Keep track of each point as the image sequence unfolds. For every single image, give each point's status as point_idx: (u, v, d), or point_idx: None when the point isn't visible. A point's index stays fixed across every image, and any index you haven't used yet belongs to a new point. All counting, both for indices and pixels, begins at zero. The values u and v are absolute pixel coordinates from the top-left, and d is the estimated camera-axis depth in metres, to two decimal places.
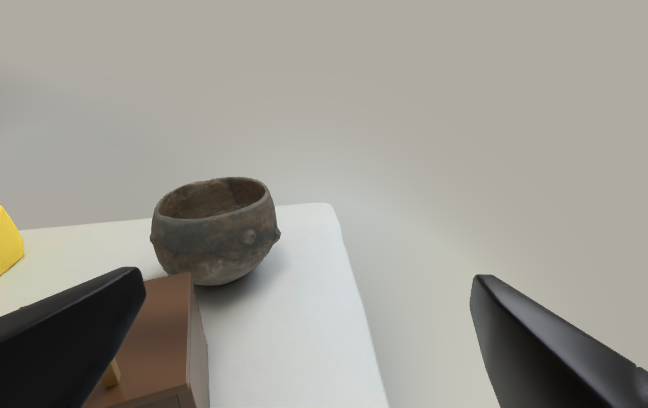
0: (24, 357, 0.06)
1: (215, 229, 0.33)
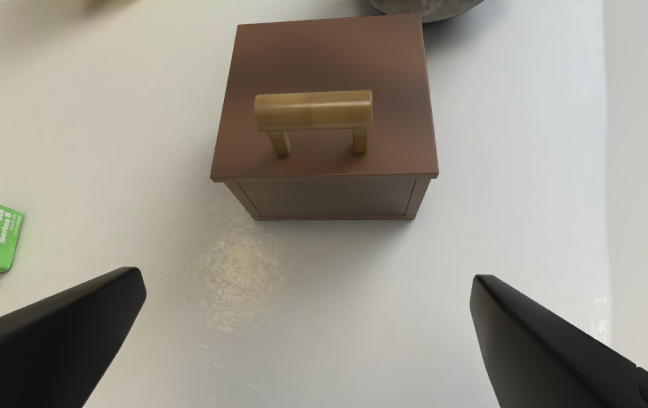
0: (24, 357, 0.06)
1: None
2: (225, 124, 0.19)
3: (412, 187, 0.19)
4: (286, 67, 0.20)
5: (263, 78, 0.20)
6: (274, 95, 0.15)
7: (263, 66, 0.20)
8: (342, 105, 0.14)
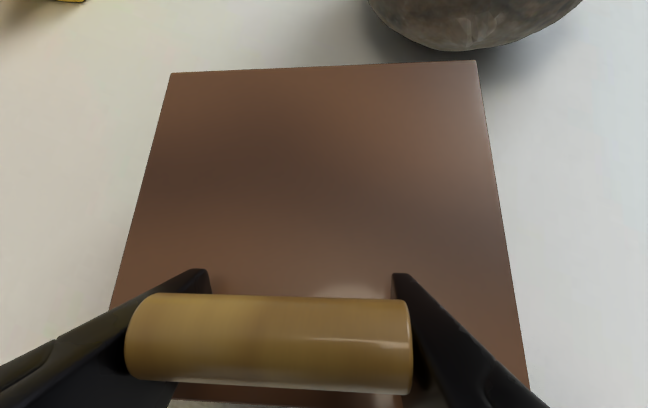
0: (121, 362, 0.06)
1: None
2: (128, 272, 0.10)
3: None
4: (244, 157, 0.12)
5: (202, 179, 0.11)
6: (175, 315, 0.06)
7: (206, 153, 0.12)
8: (336, 365, 0.06)
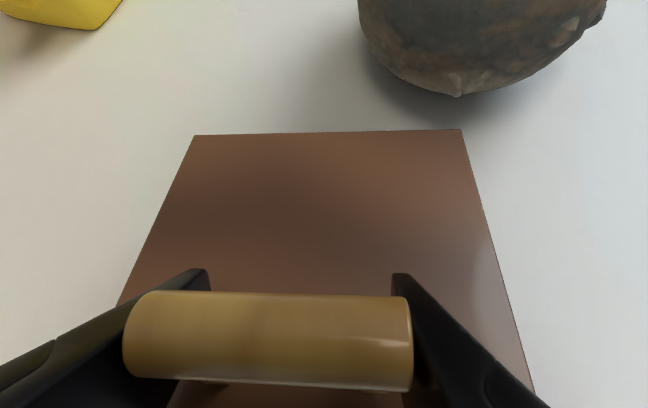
0: (121, 362, 0.06)
1: (509, 11, 0.15)
2: None
3: None
4: (253, 202, 0.13)
5: (212, 219, 0.12)
6: (179, 301, 0.06)
7: (218, 198, 0.13)
8: (336, 347, 0.06)
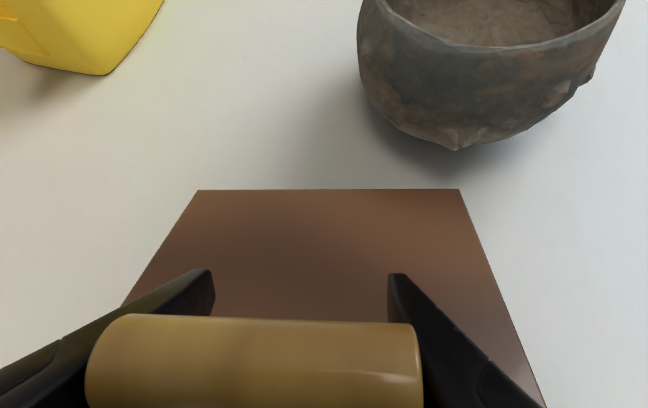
0: None
1: (503, 76, 0.16)
2: None
3: None
4: (250, 251, 0.12)
5: (206, 267, 0.12)
6: (160, 321, 0.06)
7: (214, 247, 0.12)
8: (334, 372, 0.05)
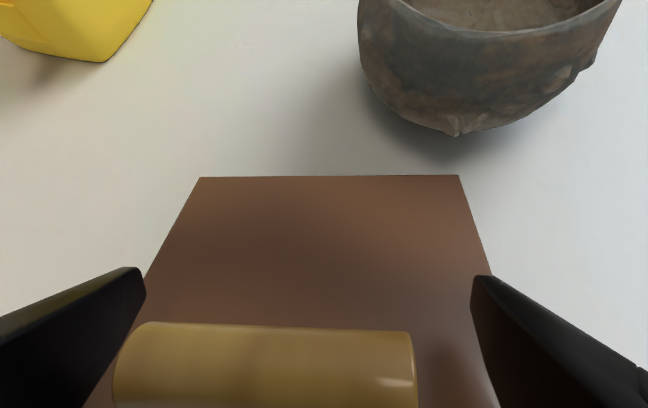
0: (24, 357, 0.06)
1: (503, 61, 0.16)
2: None
3: None
4: (254, 241, 0.13)
5: (212, 257, 0.12)
6: (176, 331, 0.06)
7: (219, 237, 0.13)
8: (337, 382, 0.05)
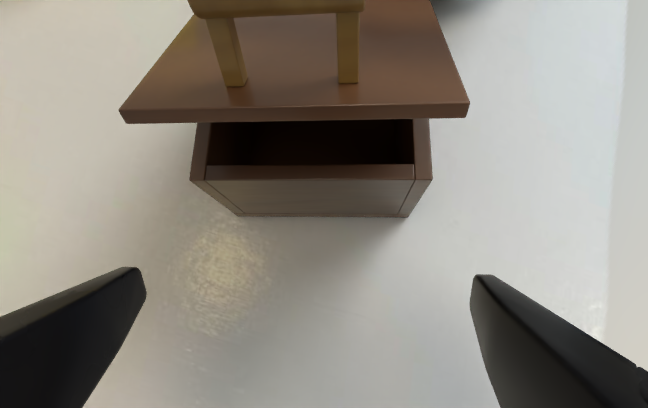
0: (24, 357, 0.06)
1: None
2: (163, 62, 0.14)
3: (406, 193, 0.18)
4: (258, 19, 0.16)
5: None
6: None
7: None
8: None
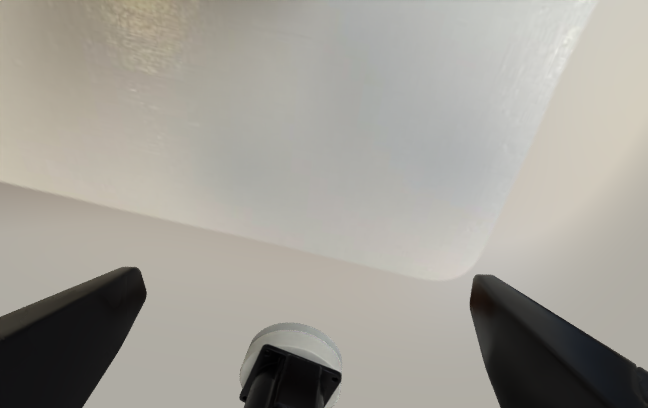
0: (24, 357, 0.06)
1: None
2: None
3: None
4: None
5: None
6: None
7: None
8: None
